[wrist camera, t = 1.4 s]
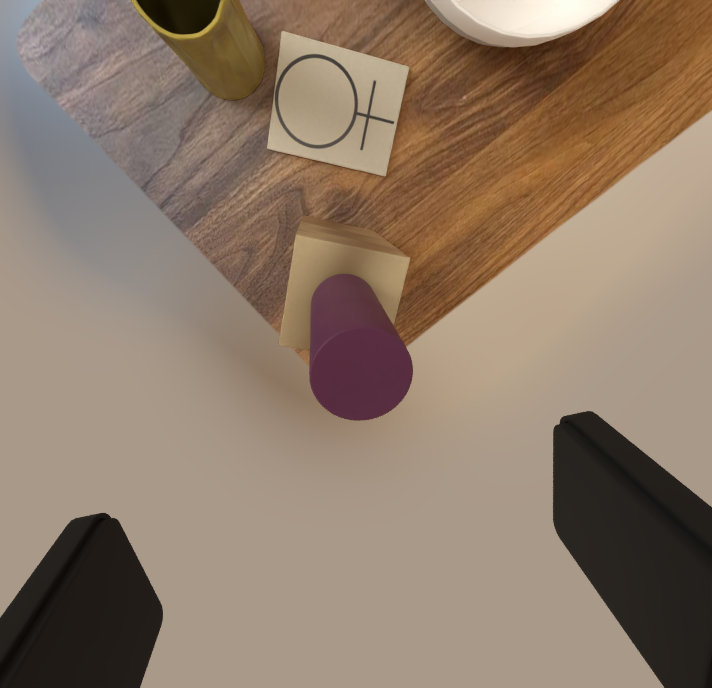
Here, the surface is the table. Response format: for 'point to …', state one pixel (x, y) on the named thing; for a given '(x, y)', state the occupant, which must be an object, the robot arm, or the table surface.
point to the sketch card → (335, 104)
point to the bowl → (517, 19)
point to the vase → (210, 42)
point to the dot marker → (355, 351)
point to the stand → (338, 271)
